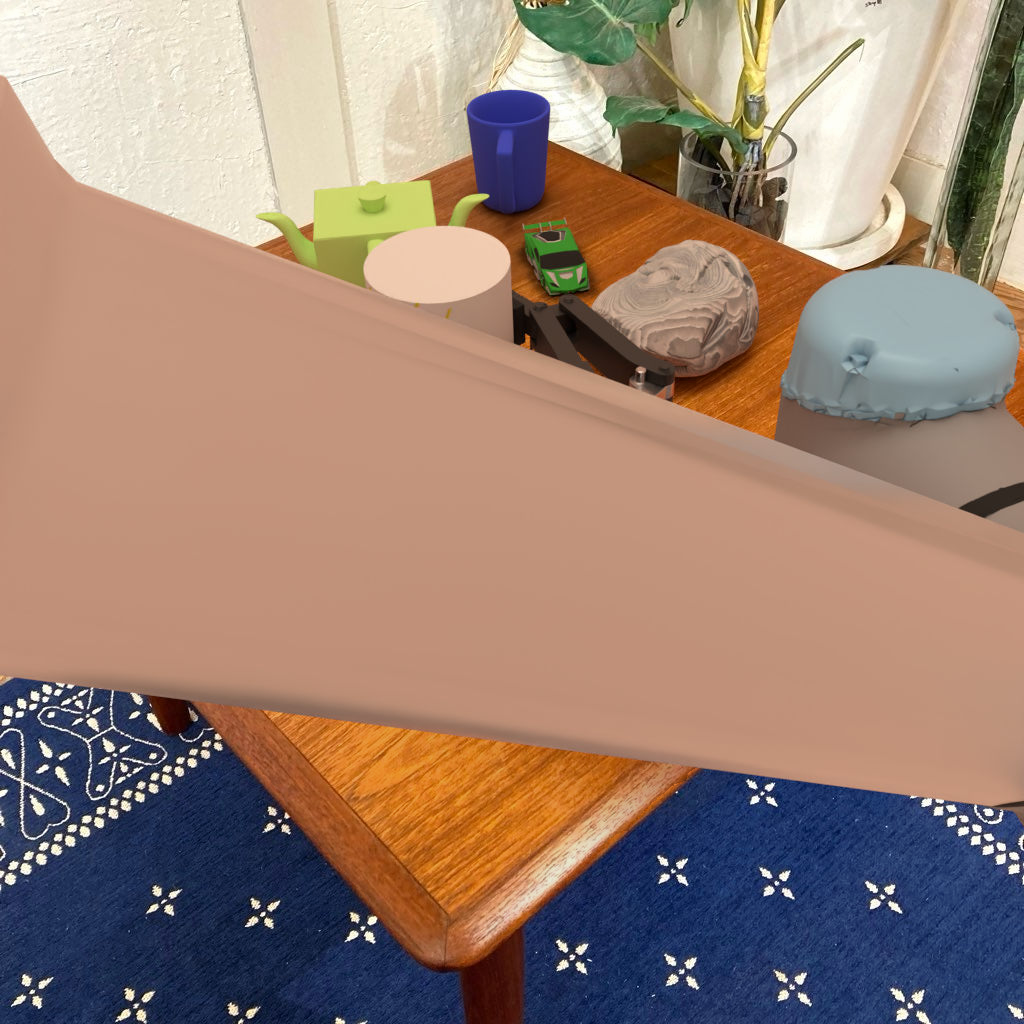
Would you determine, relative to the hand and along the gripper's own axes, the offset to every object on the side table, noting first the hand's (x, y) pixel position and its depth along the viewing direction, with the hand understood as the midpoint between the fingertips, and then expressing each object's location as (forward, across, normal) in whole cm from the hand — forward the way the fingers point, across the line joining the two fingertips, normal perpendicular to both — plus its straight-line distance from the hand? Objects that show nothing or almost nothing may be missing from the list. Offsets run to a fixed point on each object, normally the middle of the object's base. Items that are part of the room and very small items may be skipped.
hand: (396, 311), depth 66 cm
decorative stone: (+2, +28, -18) cm, 33 cm away
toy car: (+18, +30, -18) cm, 39 cm away
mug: (+29, +34, -18) cm, 48 cm away
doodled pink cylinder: (-5, 0, -7) cm, 8 cm away
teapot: (+25, +15, -17) cm, 34 cm away
